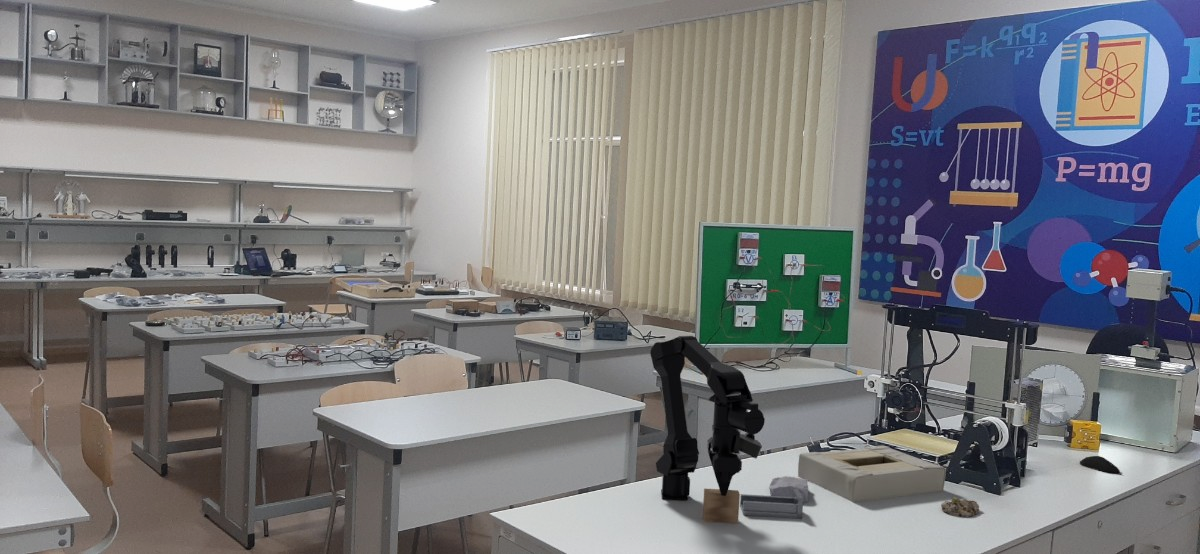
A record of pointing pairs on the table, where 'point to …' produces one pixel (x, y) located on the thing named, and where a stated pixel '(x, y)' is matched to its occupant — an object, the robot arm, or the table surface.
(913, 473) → the box
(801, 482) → the stone block
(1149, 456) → the table surface
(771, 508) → the floor track
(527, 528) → the table surface
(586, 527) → the table surface
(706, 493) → the brown wooden block
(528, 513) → the table surface
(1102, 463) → the black teardrop lump
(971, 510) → the mineral rock
